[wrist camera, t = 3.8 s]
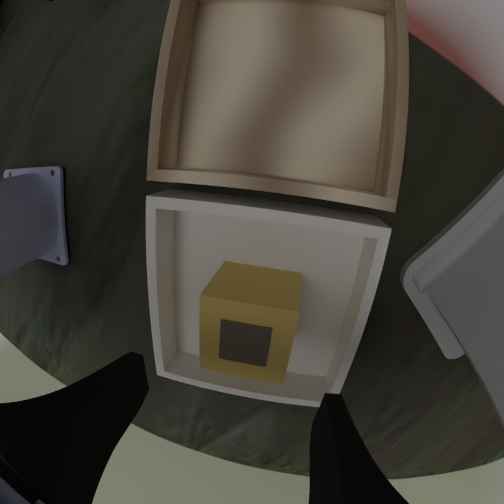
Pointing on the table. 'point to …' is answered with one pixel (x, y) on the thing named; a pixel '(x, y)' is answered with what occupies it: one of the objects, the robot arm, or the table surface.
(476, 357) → the phone holder
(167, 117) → the birch box
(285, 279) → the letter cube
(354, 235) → the white tub
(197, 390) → the table surface
